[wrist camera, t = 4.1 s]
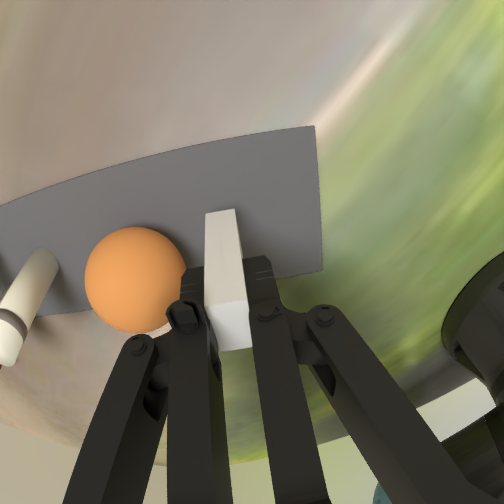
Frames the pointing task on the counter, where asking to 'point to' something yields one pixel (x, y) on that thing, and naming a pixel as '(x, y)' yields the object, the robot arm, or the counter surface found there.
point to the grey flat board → (175, 209)
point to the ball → (134, 279)
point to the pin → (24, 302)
